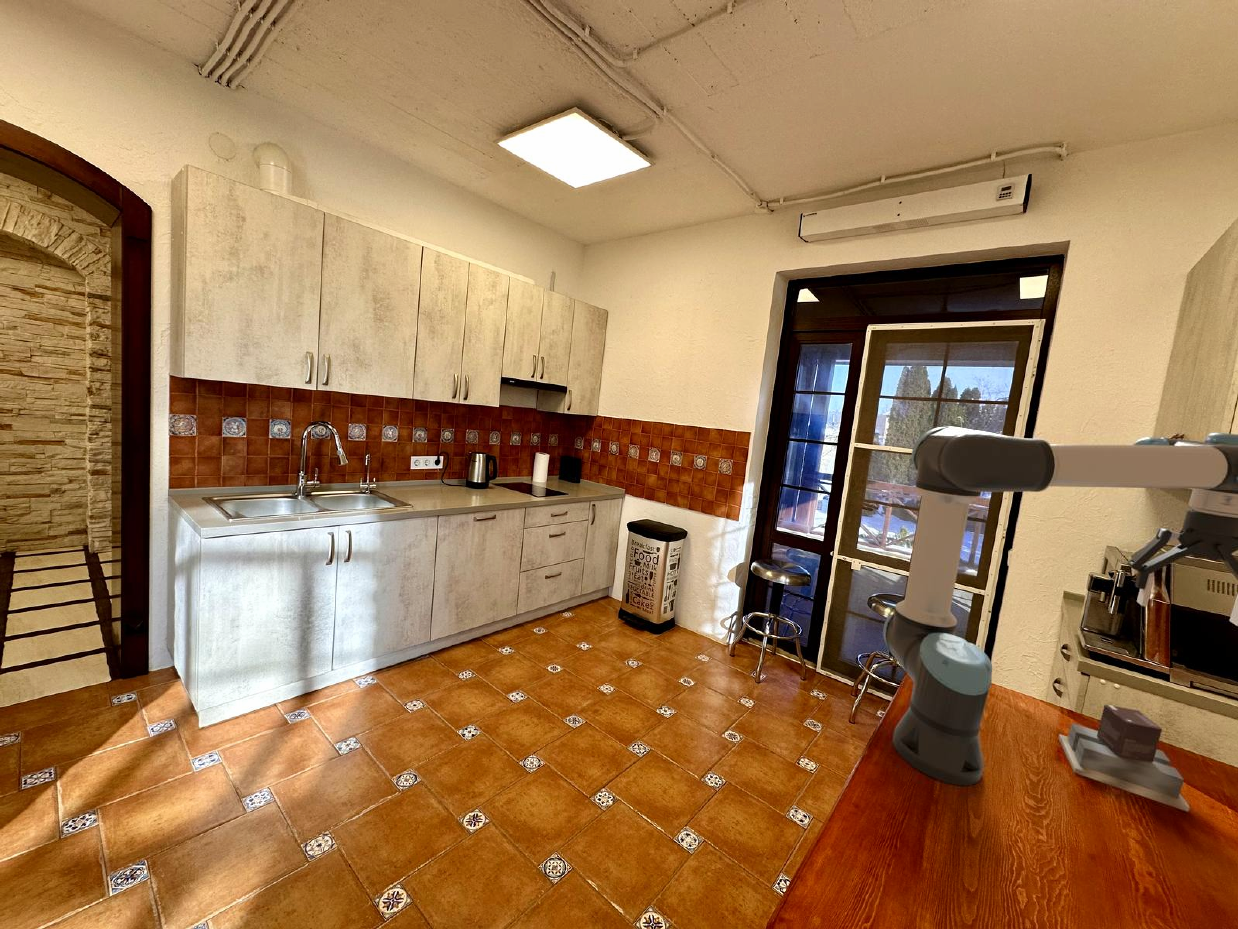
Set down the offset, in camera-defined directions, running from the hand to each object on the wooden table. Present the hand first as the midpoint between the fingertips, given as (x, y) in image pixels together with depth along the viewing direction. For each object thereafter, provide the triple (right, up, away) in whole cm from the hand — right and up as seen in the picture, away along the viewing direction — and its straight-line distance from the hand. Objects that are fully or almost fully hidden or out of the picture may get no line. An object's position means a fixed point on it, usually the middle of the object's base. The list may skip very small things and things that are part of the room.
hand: (1187, 614), depth 102 cm
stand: (-16, -31, -2) cm, 35 cm away
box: (-15, -26, -2) cm, 31 cm away
